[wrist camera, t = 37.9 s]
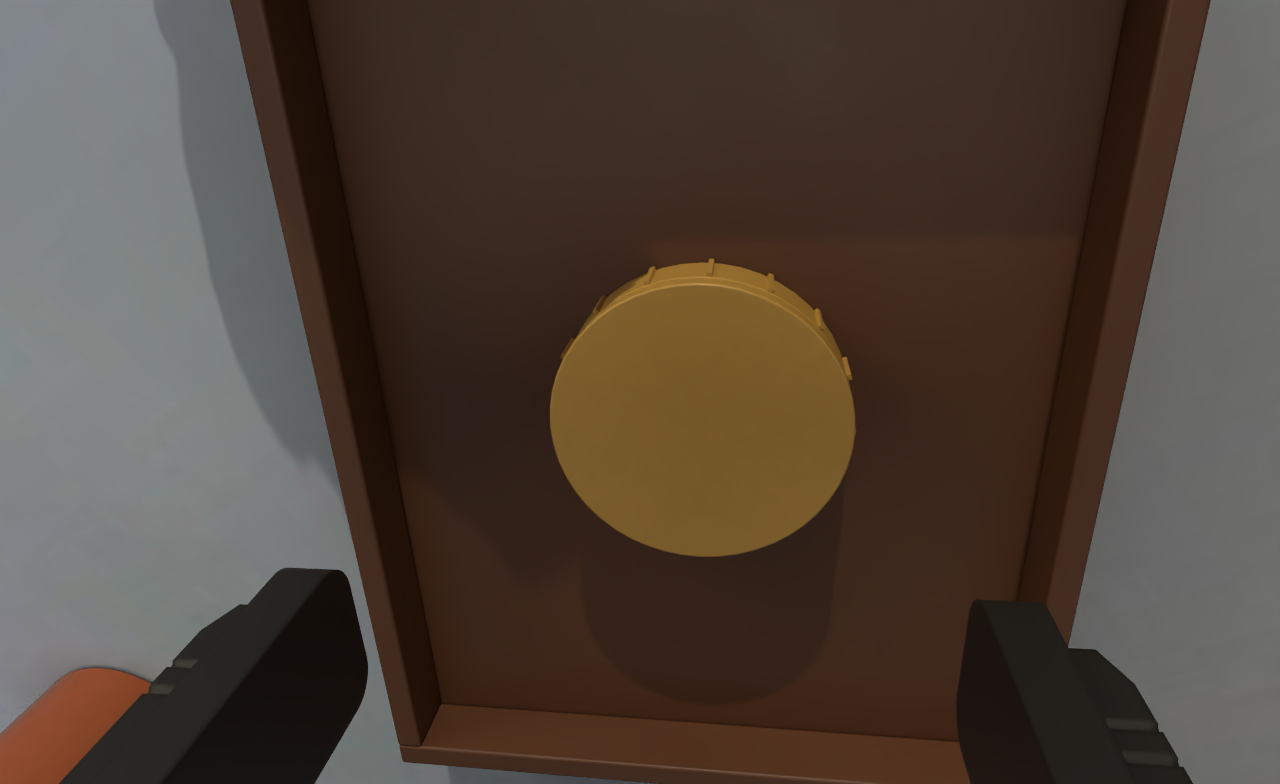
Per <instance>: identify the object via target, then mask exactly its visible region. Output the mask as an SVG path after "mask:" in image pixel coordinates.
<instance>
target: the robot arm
mask: <svg viewBox="0 0 1280 784" xmlns="http://www.w3.org/2000/svg"><path fill="white" fill-rule="evenodd" d="M367 676H368V662H367V656H366V652H365V647H364V643H363V639H362V634H361V630H360V626H359V622H358V617H357V613H356V609H355V605H354V600H353V596H352V592H351V587H350V584H349V580H348V578H347V576H346V575H345V574H344V573H343V572H342V571H340V570H328V569H305V568H284V569H281V570H279V571H278V572H277V573H276V574H275V575H274V576H273V577H272V578H271V579H270V580H269V581H268V582H267V583H266V585H265V586H264V587H263V588H262V589H261V590H260V591H259V592H258V594H257V595H256V596H255V597H254V598H253V599H252V600H251V601H250V603H249V604H248V605H241V604H240V605H239V606H237V607H235V608H234V609H232V610H231V611H229V612H228V613H226V614H225V615H223V616H222V617H220V618H219V619H217V620H216V621H214V622H213V623H211V624H210V625H208V626H207V627H205V628H204V629H202V630H201V631H200V632H199V633H198V634H197V635H196V636H195V637H194V638H193V639H192V641H191V642H190V643H189V644H188V645H187V646H186V647H185V648H184V649H183V650H182V651H181V652H180V653H179V655H178V656H177V657H176V658H175V659H174V660H173V665H172V667H166V669H165V670H164V671H163V672H162V673H161V674H160V675H159V676H158V677H157V678H156V679H155V680H154V681H153V683H152V684H151V685H150V686H149V691H148V693H147V694H145V693H142V694H141V695H140V697H139V698H138V699H137V700H136V701H135V702H134V703H133V704H132V705H131V706H130V707H129V708H128V709H127V711H126V712H125V713H124V714H123V715H122V716H121V717H120V718H119V719H118V720H117V721H116V722H115V724H114V725H113V726H112V727H111V728H110V729H109V730H108V731H107V732H106V733H105V734H104V735H103V736H102V738H101V739H100V740H99V741H98V742H97V743H96V744H95V745H94V746H93V747H92V748H91V749H90V750H89V752H88V753H87V754H86V755H85V756H84V757H83V758H82V759H81V760H80V761H79V762H78V763H77V764H76V766H75V767H74V768H73V769H72V770H71V771H70V772H69V773H68V774H67V775H66V776H65V777H64V778H63V780H62V781H61V782H60V783H59V784H315V782H316V780H317V779H318V777H319V775H320V773H321V772H322V770H323V768H324V767H325V765H326V763H327V761H328V760H329V758H330V756H331V755H332V753H333V751H334V750H335V748H336V746H337V744H338V743H339V741H340V739H341V738H342V736H343V734H344V732H345V731H346V729H347V727H348V726H349V724H350V722H351V721H352V719H353V717H354V715H355V714H356V712H357V710H358V708H359V706H360V704H361V702H362V699H363V696H364V693H365V689H366V684H367ZM956 719H957V730H958V738H959V743H960V748H961V752H962V756H963V759H964V763H965V766H966V770H967V773H968V777H969V780H970V784H1193V783H1192V781H1191V779H1190V778H1189V776H1188V774H1187V772H1186V771H1185V769H1184V767H1179V764H1178V757H1177V755H1176V754H1175V752H1174V750H1173V749H1172V747H1171V745H1170V743H1169V742H1168V740H1167V738H1166V737H1165V735H1164V733H1163V732H1159V730H1158V723H1157V721H1156V720H1155V718H1154V716H1153V715H1152V713H1151V711H1150V709H1149V708H1148V706H1147V704H1146V703H1145V701H1144V699H1143V697H1142V696H1141V694H1140V692H1139V691H1138V689H1137V687H1136V686H1135V684H1134V683H1133V682H1132V681H1131V680H1129V679H1128V678H1127V677H1126V676H1125V675H1124V674H1123V673H1121V672H1120V671H1119V670H1118V669H1117V668H1116V667H1115V666H1113V665H1112V664H1111V663H1110V662H1109V661H1108V660H1107V659H1106V658H1104V657H1103V656H1102V655H1101V654H1100V653H1099V652H1098V651H1096V650H1093V649H1073V648H1068V646H1067V644H1066V642H1065V640H1064V639H1063V637H1062V635H1061V633H1060V631H1059V629H1058V627H1057V625H1056V623H1055V621H1054V619H1053V617H1052V615H1051V613H1050V611H1049V610H1048V608H1047V607H1046V606H1045V604H1043V603H1041V602H1025V601H1002V600H979V599H976V600H974V601H973V603H972V605H971V608H970V612H969V617H968V624H967V631H966V637H965V644H964V651H963V658H962V664H961V671H960V678H959V685H958V691H957V701H956Z"/></svg>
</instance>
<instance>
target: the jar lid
mask: <svg viewBox="0 0 1280 784" xmlns="http://www.w3.org/2000/svg"><path fill="white" fill-rule="evenodd" d="M714 262H715V259H709V262H708V263H702V262H701V263H687V264H679V265H674V266H669V267H664V268H661V269H658V270H656V268H655V266H653V267H650V268H649V270H648V273H646V274H643V275H641V276H639V277H637V278H635V279H633V280H631V281H629V282H627V283H626V284H624V285H623V286H622V287H620V288H619V289H617V290H616V291H614V292H613V293H612V294H610V295H609V296H608V297H607V296H606V295H605V294H604V295H603V296H602V297H601V298H600V300H599V301H598V303H597V305H596V306H595V308H594V310H593V311H592V312H593V313H592V314H591V315H590V316H589V317H588V319H587V320H586V322H585V323H584V325H583V327H582V328H581V330H580V331H579V333H578V335H577V336H576V338H573V337H572V338H571V340H570V341H569V343H568V345H567V346H566V348H565V350H564V351H563V353H562V355H561V357H560V358H561V359H563V360H562V363H561V365H560V367H559V370H558V372H557V374H556V378H555V382H554V385H553V389H552V395H551V403H550V428H551V434H552V440H553V445H554V448H555V451H556V454H557V457H558V461H559V463H560V465H561V467H562V469H563V471H564V474H565V476H566V478H567V479H568V481H569V482H570V484H571V485H572V487H573V489H574V490H575V492H576V493H577V494H578V495H579V497H580V498H581V499H582V500H583V502H584V503H585V504H586V505H587V506H588V507H589V508H590V509H591V510H592V511H593V512H594V513H595V514H596V515H597V516H598V517H599V518H601V519H602V520H603V521H605V522H606V523H607V524H608V525H610V526H611V527H612V528H614V529H615V530H617V531H619V532H620V533H622V534H624V535H626V536H627V537H629V538H631V539H633V540H635V541H637V542H640V543H642V544H644V545H646V546H649V547H652V548H656V549H659V550H662V551H665V552H670V553H675V554H679V555H687V556H697V557H721V556H729V555H737V554H742V553H746V552H750V551H754V550H757V549H760V548H763V547H766V546H769V545H771V544H774V543H776V542H778V541H780V540H782V539H784V538H786V537H788V536H789V535H791V534H792V533H794V532H795V531H797V530H798V529H800V528H801V527H803V526H804V525H805V524H807V523H808V522H809V521H810V520H811V519H812V518H814V517H815V516H816V515H817V514H818V513H819V512H820V511H821V509H822V508H823V507H824V506H825V505H826V504H827V503H828V502H829V500H830V499H831V497H832V496H833V494H834V493H835V491H836V490H837V488H838V487H839V485H840V483H841V481H842V479H843V477H844V475H845V473H846V471H847V469H848V465H849V462H850V459H851V456H852V452H853V446H854V440H855V435H856V427H855V409H854V403H853V396H852V392H851V389H850V385H849V380H852V375H851V371H850V367H849V364H848V360H847V357H843V358H842V356H841V352H840V350H839V348H838V346H837V344H836V342H835V340H834V337H833V335H832V334H831V332H830V331H829V329H828V328H827V326H826V325H825V323H824V322H823V319H822V315H821V311H820V310H819V309H818V308H816V309H815V310H813V309H812V308H811V306H810V305H809V304H807V303H806V302H805V301H804V300H803V299H802V298H800V297H799V296H798V295H797V294H796V293H794V292H793V291H791V290H790V289H788V288H787V287H785V286H784V285H782V284H781V283H779V282H777V281H775V280H774V275H773V274H771V273H769V274H768V275H767V276H765V275H762V274H760V273H757V272H754V271H751V270H748V269H745V268H742V267H737V266H732V265H726V264H719V263H714Z"/></svg>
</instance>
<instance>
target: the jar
mask: <svg viewBox="0 0 1280 784" xmlns="http://www.w3.org/2000/svg"><path fill="white" fill-rule="evenodd" d="M150 685H151V683H149V682H147V681H146V680H144V679H141V678H139V677H137V676H134V675H131V674H128V673H125V672H122V671H117V670H113V669H106V668H86V669H80V670H76V671H73V672H71V673H69V674H66V675H64V676H63V677H61V678H60V679H58V680H57V681H56V682H55V683H54V684H53V685H52V686H51V687H50V688H49V689H48V690H47V691H45V692H44V693H43V694H42V695H41V696H40V697H39V698H38V699H37V700H36V701H35V702H34V703H33V704H31V705H30V706H29V707H28V708H27V709H26V710H25V711H24V712H23V713H22V714H21V715H20V716H18V717H17V718H16V719H15V720H14V721H13V722H12V723H11V724H10V725H9V726H8V727H7V728H6V729H4V730H3V731H2V732H1V733H0V784H59V783H60V782H61V781H62V780H63V778H64V777H65V776H66V775H67V774H68V773H69V772H70V771H71V770H72V769H73V768H74V767H75V766H76V764H77V763H78V762H79V761H80V760H81V759H82V758H83V757H84V756H85V755H86V754H87V753H88V752H89V750H90V749H91V748H92V747H93V746H94V745H95V744H96V743H97V742H98V741H99V740H100V739H101V738H102V736H103V735H104V734H105V733H106V732H107V731H108V730H109V729H110V728H111V727H112V726H113V725H114V724H115V722H116V721H117V720H118V719H119V718H120V717H121V716H122V715H123V714H124V713H125V712H126V711H127V709H128V708H129V707H130V706H131V705H132V704H133V703H134V702H135V701H136V700H137V699H138V698H139V697H140V695H141V694H142V693H145V694H147V693H148V691H149V686H150Z"/></svg>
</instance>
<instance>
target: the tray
mask: <svg viewBox="0 0 1280 784" xmlns="http://www.w3.org/2000/svg"><path fill="white" fill-rule="evenodd" d="M230 1H231V6H232V10H233V15H234V19H235V23H236V28H237V32H238V37H239V41H240V45H241V50H242V54H243V59H244V63H245V68H246V72H247V76H248V81H249V85H250V90H251V94H252V98H253V103H254V107H255V112H256V116H257V120H258V125H259V129H260V134H261V138H262V142H263V147H264V151H265V156H266V160H267V165H268V169H269V173H270V178H271V182H272V187H273V191H274V195H275V200H276V204H277V209H278V213H279V217H280V222H281V226H282V231H283V235H284V240H285V244H286V248H287V253H288V257H289V262H290V266H291V270H292V275H293V279H294V284H295V288H296V292H297V297H298V301H299V306H300V310H301V314H302V319H303V323H304V328H305V332H306V337H307V341H308V345H309V350H310V354H311V359H312V363H313V367H314V372H315V376H316V381H317V385H318V389H319V394H320V398H321V403H322V407H323V412H324V416H325V420H326V425H327V429H328V434H329V438H330V442H331V447H332V451H333V456H334V460H335V464H336V469H337V473H338V478H339V482H340V486H341V491H342V495H343V500H344V504H345V509H346V513H347V517H348V522H349V526H350V531H351V535H352V539H353V544H354V548H355V553H356V557H357V561H358V566H359V570H360V575H361V579H362V583H363V588H364V592H365V597H366V601H367V606H368V610H369V614H370V619H371V623H372V628H373V632H374V636H375V641H376V645H377V650H378V654H379V658H380V663H381V667H382V672H383V676H384V681H385V685H386V689H387V694H388V698H389V703H390V707H391V711H392V716H393V720H394V725H395V729H396V733H397V738H398V742H399V744H400V751H401V755H402V760H403V761H404V762H410V763H422V764H434V765H446V766H457V767H469V768H481V769H493V770H505V771H516V772H528V773H540V774H552V775H563V776H575V777H587V778H599V779H611V780H622V781H634V782H646V783H658V784H970V780H969V777H968V773H967V770H966V766H965V763H964V759H963V756H962V752H961V748H960V743H959V738H958V730H957V719H956V701H957V691H958V685H959V678H960V671H961V664H962V658H963V651H964V644H965V637H966V631H967V624H968V617H969V612H970V608H971V605H972V603H973V601H974V600H976V599H979V600H1002V601H1025V602H1041V603H1043V604H1045V606H1046V607H1047V608H1048V610H1049V611H1050V613H1051V615H1052V617H1053V619H1054V621H1055V623H1056V625H1057V627H1058V629H1059V631H1060V633H1061V635H1062V637H1063V639H1064V640H1065V642H1066V644H1067V646H1068V644H1069V640H1070V635H1071V631H1072V626H1073V622H1074V617H1075V613H1076V608H1077V604H1078V599H1079V595H1080V590H1081V586H1082V581H1083V576H1084V572H1085V567H1086V563H1087V558H1088V554H1089V549H1090V545H1091V540H1092V536H1093V531H1094V527H1095V522H1096V518H1097V513H1098V508H1099V504H1100V499H1101V495H1102V490H1103V486H1104V481H1105V477H1106V472H1107V468H1108V463H1109V459H1110V454H1111V450H1112V445H1113V440H1114V436H1115V431H1116V427H1117V422H1118V418H1119V413H1120V409H1121V404H1122V400H1123V395H1124V391H1125V386H1126V382H1127V377H1128V372H1129V368H1130V363H1131V359H1132V354H1133V350H1134V345H1135V341H1136V336H1137V332H1138V327H1139V323H1140V318H1141V314H1142V309H1143V304H1144V300H1145V295H1146V291H1147V286H1148V282H1149V277H1150V273H1151V268H1152V264H1153V259H1154V255H1155V250H1156V245H1157V241H1158V236H1159V232H1160V227H1161V223H1162V218H1163V214H1164V209H1165V205H1166V200H1167V196H1168V191H1169V187H1170V182H1171V177H1172V173H1173V168H1174V164H1175V159H1176V155H1177V150H1178V146H1179V141H1180V137H1181V132H1182V128H1183V123H1184V119H1185V114H1186V109H1187V105H1188V100H1189V96H1190V91H1191V87H1192V82H1193V78H1194V73H1195V69H1196V64H1197V60H1198V55H1199V51H1200V46H1201V41H1202V37H1203V32H1204V28H1205V23H1206V19H1207V14H1208V10H1209V5H1210V1H1211V0H230ZM709 259H715V262H714V263H719V264H726V265H732V266H737V267H742V268H745V269H748V270H751V271H754V272H757V273H760V274H762V275H765V276H767V275H768V274H769V273H771V274H773V275H774V280H775V281H777V282H779V283H781V284H782V285H784V286H785V287H787V288H788V289H790V290H791V291H793V292H794V293H796V294H797V295H798V296H799V297H800V298H802V299H803V300H804V301H805V302H806V303H807V304H809V305H810V306H811V308H812V309H813V310H815V309H816V308H818V309H819V310H820V311H821V315H822V319H823V322H824V323H825V325H826V326H827V328H828V329H829V331H830V332H831V334H832V335H833V337H834V340H835V342H836V344H837V346H838V348H839V350H840V352H841V356H842V358H843V357H847V360H848V364H849V367H850V371H851V375H852V380H849V385H850V389H851V392H852V396H853V403H854V409H855V427H856V435H855V440H854V446H853V452H852V456H851V459H850V462H849V465H848V469H847V471H846V473H845V475H844V477H843V479H842V481H841V483H840V485H839V487H838V488H837V490H836V491H835V493H834V494H833V496H832V497H831V499H830V500H829V502H828V503H827V504H826V505H825V506H824V507H823V508H822V509H821V511H820V512H819V513H818V514H817V515H816V516H815V517H814V518H812V519H811V520H810V521H809V522H808V523H807V524H805V525H804V526H803V527H801V528H800V529H798V530H797V531H795V532H794V533H792V534H791V535H789V536H788V537H786V538H784V539H782V540H780V541H778V542H776V543H774V544H771V545H769V546H766V547H763V548H760V549H757V550H754V551H750V552H746V553H742V554H737V555H729V556H721V557H697V556H687V555H679V554H675V553H670V552H665V551H662V550H659V549H656V548H652V547H649V546H646V545H644V544H642V543H640V542H637V541H635V540H633V539H631V538H629V537H627V536H626V535H624V534H622V533H620V532H619V531H617V530H615V529H614V528H612V527H611V526H610V525H608V524H607V523H606V522H605V521H603V520H602V519H601V518H599V517H598V516H597V515H596V514H595V513H594V512H593V511H592V510H591V509H590V508H589V507H588V506H587V505H586V504H585V503H584V502H583V500H582V499H581V498H580V497H579V495H578V494H577V493H576V492H575V490H574V489H573V487H572V485H571V484H570V482H569V481H568V479H567V478H566V476H565V474H564V471H563V469H562V467H561V465H560V463H559V461H558V457H557V454H556V451H555V448H554V445H553V440H552V434H551V428H550V403H551V395H552V389H553V385H554V382H555V378H556V374H557V372H558V370H559V367H560V365H561V363H562V360H563V359H561V358H560V357H561V355H562V353H563V351H564V350H565V348H566V346H567V345H568V343H569V341H570V340H571V338H572V337H573V338H576V336H577V335H578V333H579V331H580V330H581V328H582V327H583V325H584V323H585V322H586V320H587V319H588V317H589V316H590V315H591V314H592V313H593V312H592V311H593V310H594V308H595V306H596V305H597V303H598V301H599V300H600V298H601V297H602V296H603V295H604V294H605V295H606V296H607V297H608V296H609V295H610V294H612V293H613V292H614V291H616V290H617V289H619V288H620V287H622V286H623V285H624V284H626V283H627V282H629V281H631V280H633V279H635V278H637V277H639V276H641V275H643V274H646V273H648V270H649V268H650V267H653V266H655V268H656V270H658V269H661V268H664V267H669V266H674V265H679V264H687V263H701V262H702V263H708V262H709Z"/></svg>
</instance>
